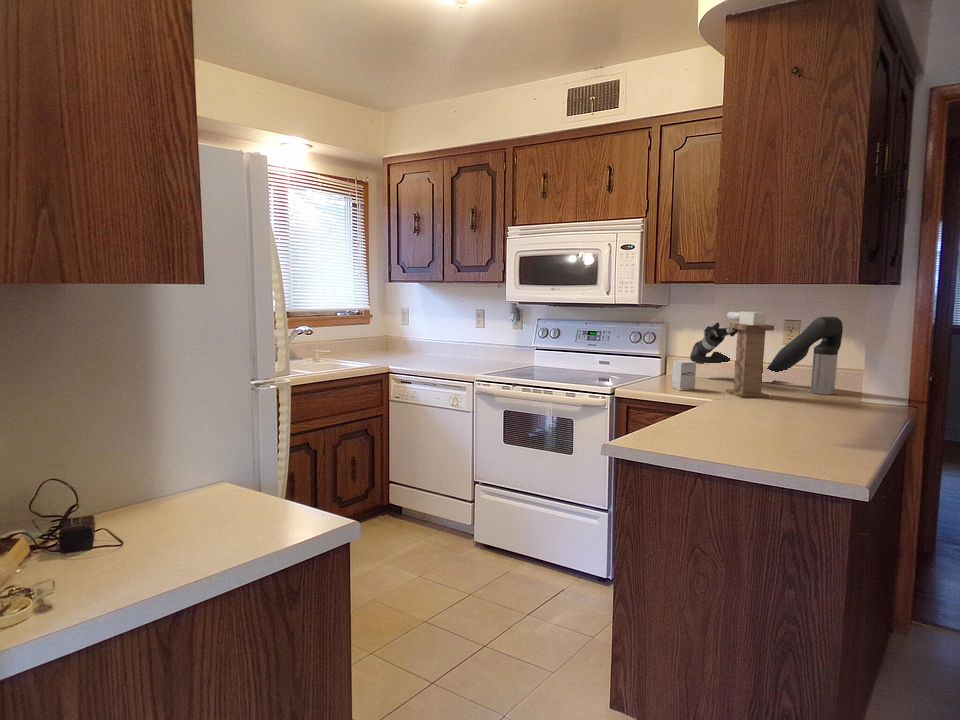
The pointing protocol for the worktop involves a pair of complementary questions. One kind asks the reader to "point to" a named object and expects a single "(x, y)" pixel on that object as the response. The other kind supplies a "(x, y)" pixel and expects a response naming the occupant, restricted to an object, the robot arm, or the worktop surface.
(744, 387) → the brown pedestal
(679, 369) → the supplement box
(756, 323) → the white square bar
